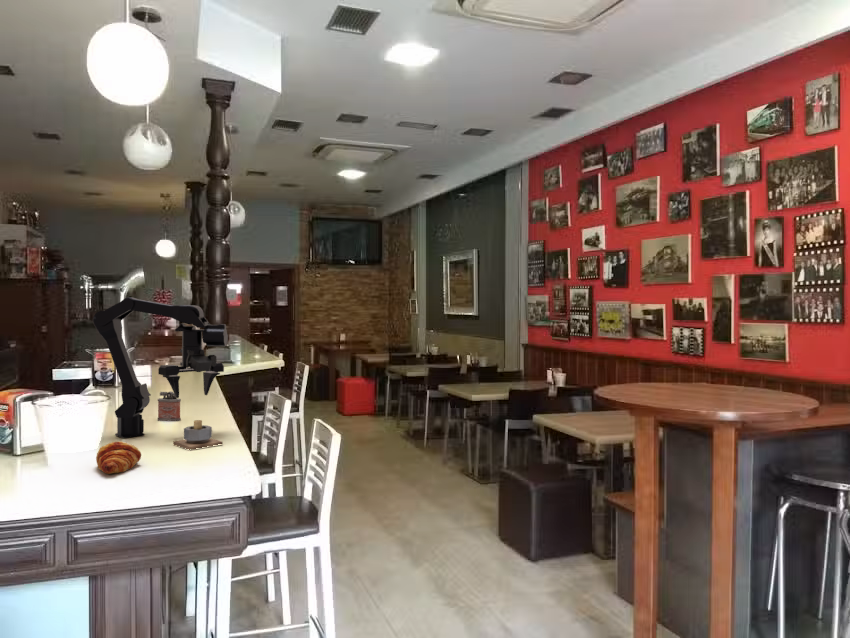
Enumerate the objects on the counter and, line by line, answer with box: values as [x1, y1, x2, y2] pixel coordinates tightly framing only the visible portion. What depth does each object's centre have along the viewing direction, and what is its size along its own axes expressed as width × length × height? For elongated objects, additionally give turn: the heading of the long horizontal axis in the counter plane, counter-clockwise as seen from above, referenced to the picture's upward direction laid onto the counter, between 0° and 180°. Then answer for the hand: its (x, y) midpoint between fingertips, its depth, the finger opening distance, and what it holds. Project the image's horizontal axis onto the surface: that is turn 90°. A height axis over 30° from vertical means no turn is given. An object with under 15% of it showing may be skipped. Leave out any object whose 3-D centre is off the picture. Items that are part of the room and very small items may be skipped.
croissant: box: [95, 441, 142, 475], centre depth 160 cm, size 21×10×8 cm, turn 17°
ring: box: [183, 424, 213, 441], centre depth 185 cm, size 7×7×3 cm
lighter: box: [157, 390, 182, 422], centre depth 223 cm, size 8×3×10 cm, turn 84°
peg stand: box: [172, 419, 224, 451], centre depth 185 cm, size 10×10×7 cm
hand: (191, 396), depth 198 cm, fingers open, 9 cm apart
